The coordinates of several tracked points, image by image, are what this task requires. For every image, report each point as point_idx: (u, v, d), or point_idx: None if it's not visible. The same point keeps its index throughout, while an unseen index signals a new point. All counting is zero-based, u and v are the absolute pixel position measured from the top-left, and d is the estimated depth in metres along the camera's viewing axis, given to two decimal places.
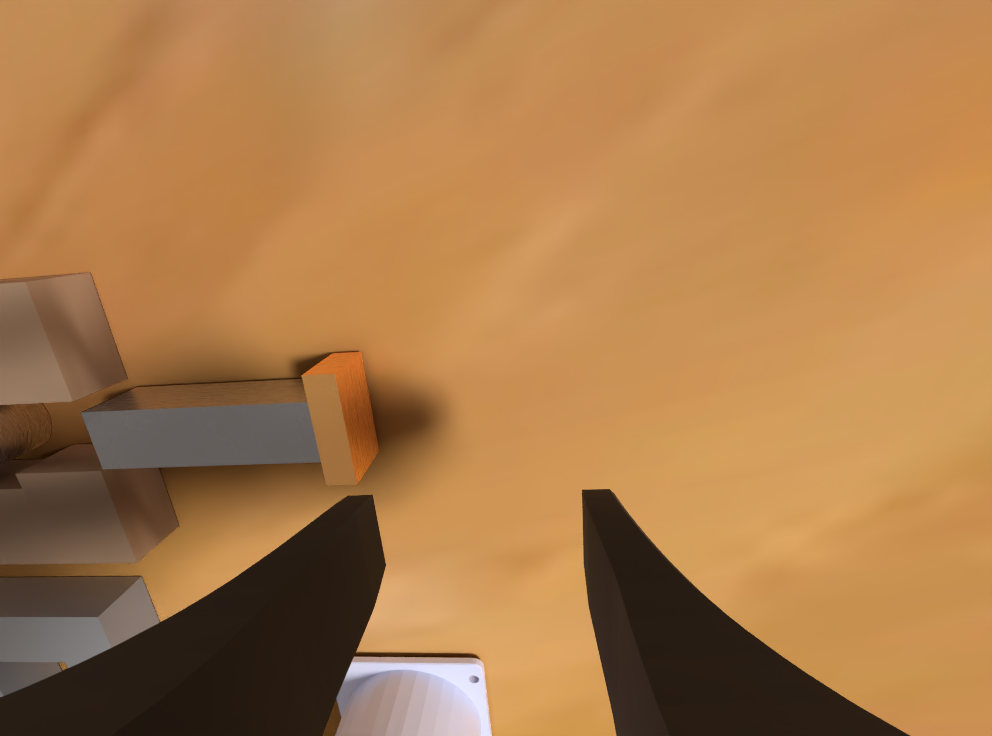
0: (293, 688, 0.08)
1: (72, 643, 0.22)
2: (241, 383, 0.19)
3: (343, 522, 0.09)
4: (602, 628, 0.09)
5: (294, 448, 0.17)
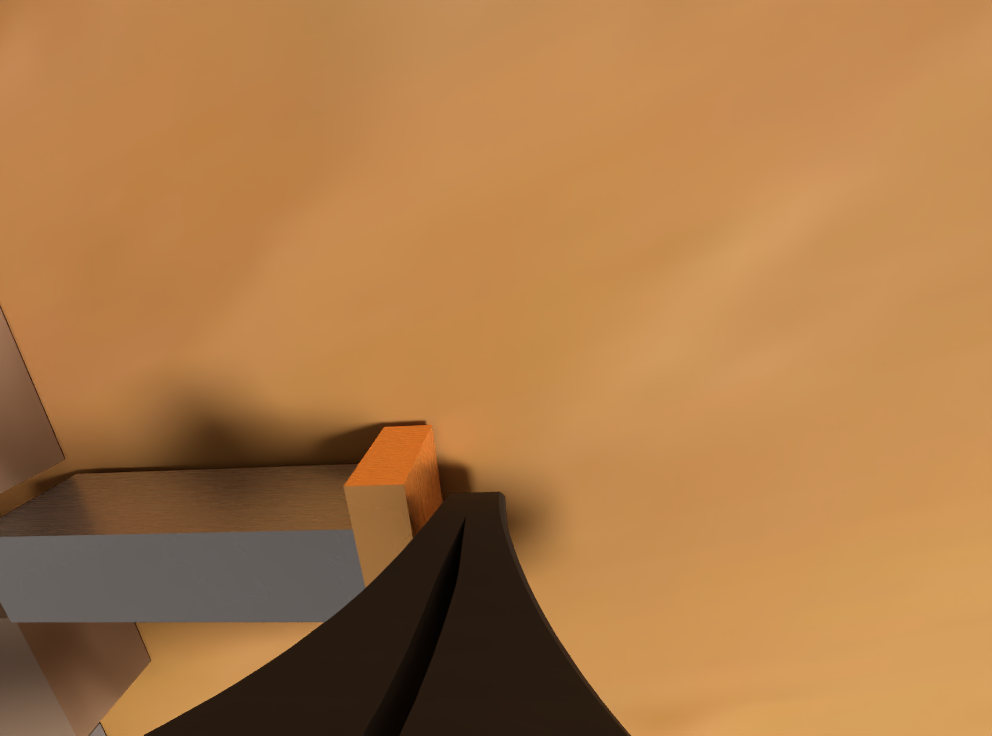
0: None
1: None
2: (238, 472, 0.12)
3: (463, 519, 0.09)
4: None
5: (328, 600, 0.10)
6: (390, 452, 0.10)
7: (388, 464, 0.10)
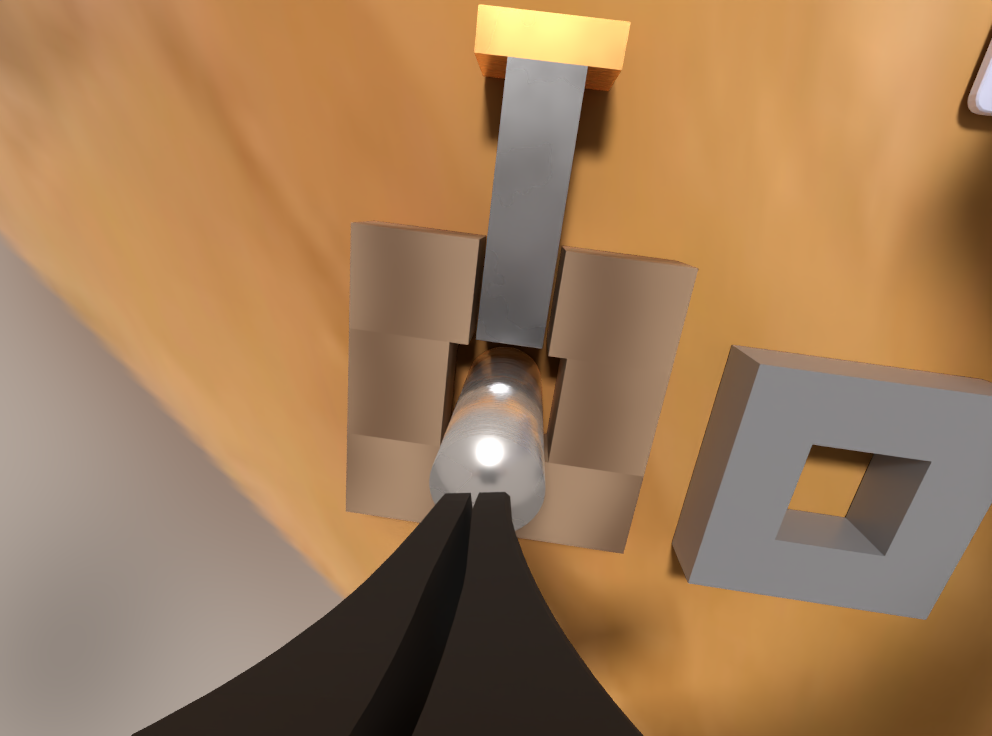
0: None
1: (787, 418, 0.17)
2: None
3: (456, 519, 0.09)
4: None
5: (562, 97, 0.14)
6: None
7: None
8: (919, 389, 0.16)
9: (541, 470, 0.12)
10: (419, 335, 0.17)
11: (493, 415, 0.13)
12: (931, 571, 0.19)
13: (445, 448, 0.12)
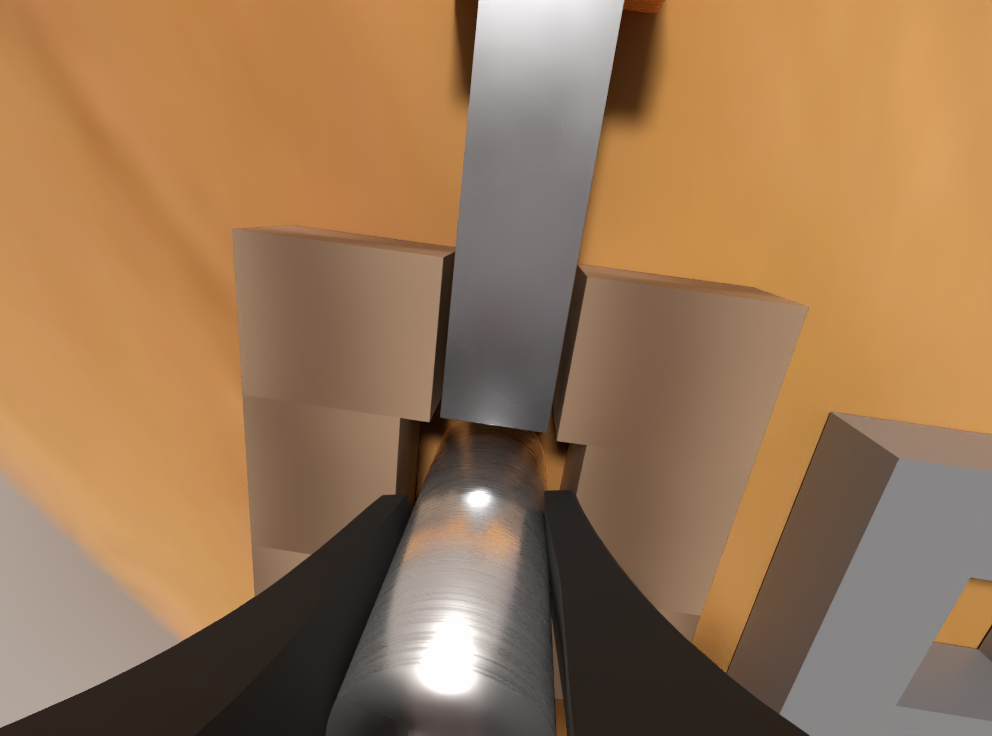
0: None
1: (935, 539, 0.11)
2: None
3: (383, 520, 0.09)
4: (557, 628, 0.09)
5: (586, 3, 0.08)
6: None
7: None
8: None
9: (548, 729, 0.06)
10: (352, 407, 0.11)
11: (455, 591, 0.07)
12: None
13: (352, 685, 0.06)
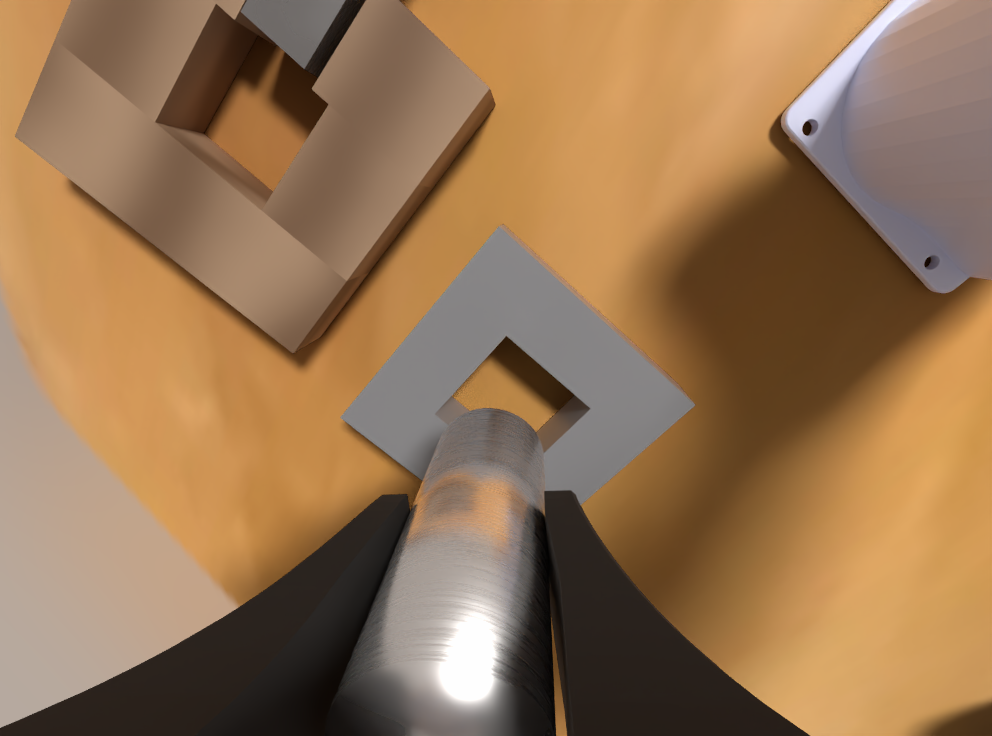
0: None
1: (497, 297, 0.17)
2: None
3: (383, 520, 0.09)
4: (556, 628, 0.09)
5: None
6: None
7: None
8: (611, 333, 0.17)
9: (545, 719, 0.06)
10: None
11: (447, 587, 0.07)
12: None
13: (346, 686, 0.06)
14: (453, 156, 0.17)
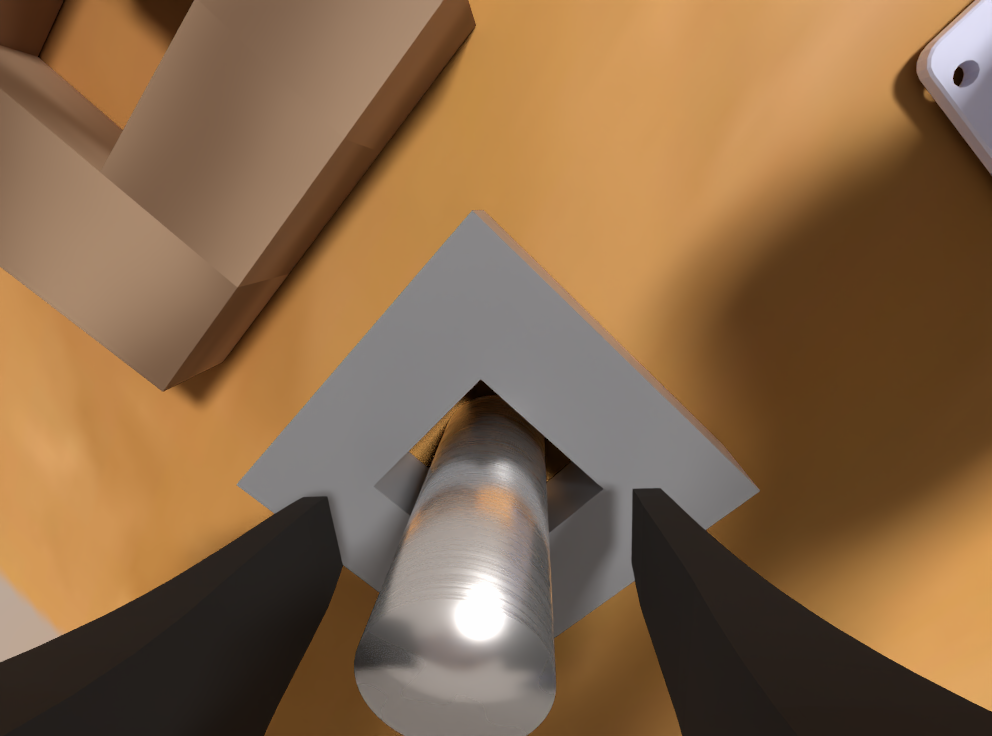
0: (230, 687, 0.08)
1: (468, 320, 0.11)
2: None
3: (291, 523, 0.09)
4: (663, 628, 0.09)
5: None
6: None
7: None
8: (641, 382, 0.11)
9: (545, 651, 0.07)
10: None
11: (459, 543, 0.08)
12: None
13: (373, 623, 0.07)
14: (409, 103, 0.11)
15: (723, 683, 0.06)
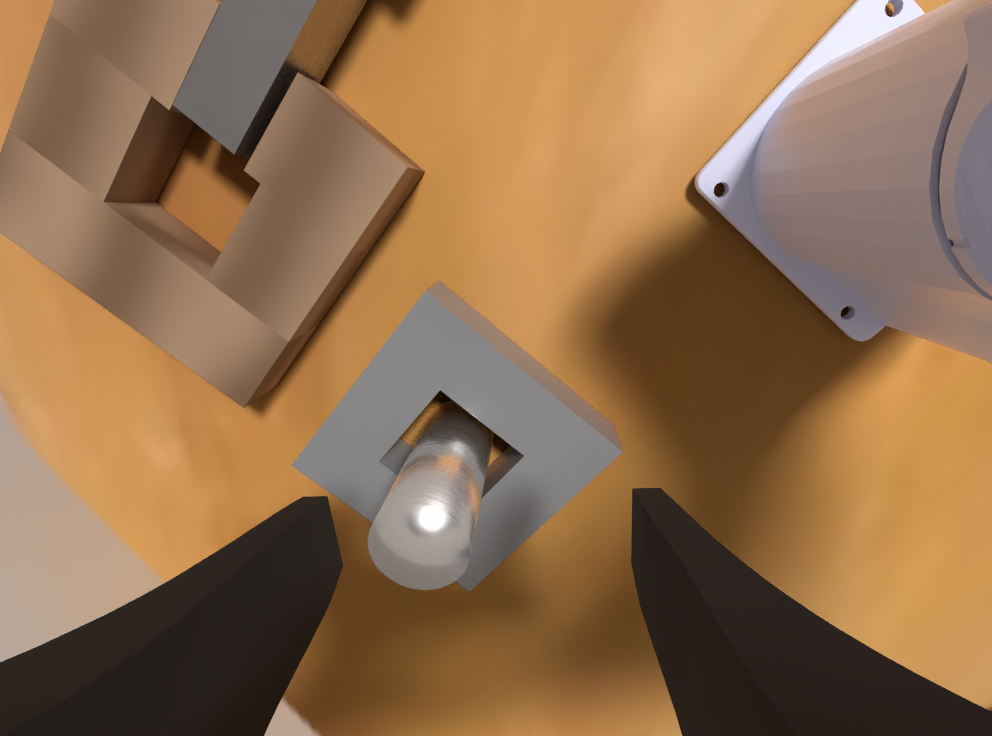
0: (229, 687, 0.08)
1: (429, 355, 0.18)
2: None
3: (291, 523, 0.09)
4: (663, 628, 0.09)
5: None
6: None
7: None
8: (538, 387, 0.18)
9: (462, 529, 0.14)
10: (122, 69, 0.16)
11: (420, 481, 0.15)
12: (488, 551, 0.21)
13: (376, 519, 0.14)
14: (387, 221, 0.18)
15: (723, 683, 0.06)
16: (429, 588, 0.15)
